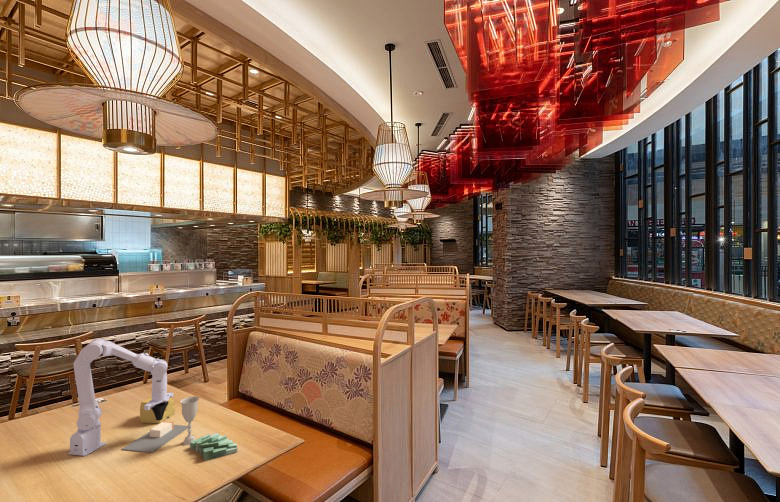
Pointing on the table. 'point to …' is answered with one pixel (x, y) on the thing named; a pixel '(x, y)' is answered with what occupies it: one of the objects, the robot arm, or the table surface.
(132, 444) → the slate mat
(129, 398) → the table surface
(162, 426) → the cream block
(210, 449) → the money
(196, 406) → the chalice
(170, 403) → the cheese
